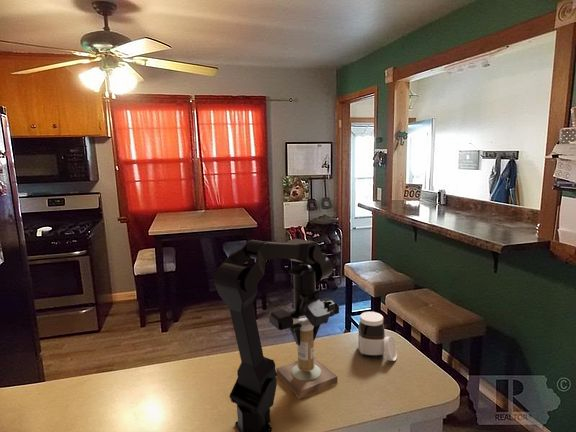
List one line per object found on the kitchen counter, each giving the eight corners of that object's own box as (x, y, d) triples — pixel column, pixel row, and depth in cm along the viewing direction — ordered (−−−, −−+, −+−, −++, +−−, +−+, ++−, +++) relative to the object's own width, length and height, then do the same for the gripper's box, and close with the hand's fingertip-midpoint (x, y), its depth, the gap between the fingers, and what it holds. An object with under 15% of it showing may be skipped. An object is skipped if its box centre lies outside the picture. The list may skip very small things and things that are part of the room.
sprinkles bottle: (317, 368, 101) (317, 321, 98) (304, 374, 98) (303, 326, 96) (307, 360, 104) (307, 315, 102) (294, 366, 102) (293, 319, 100)
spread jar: (356, 343, 120) (357, 309, 118) (392, 344, 119) (393, 309, 117) (360, 364, 108) (360, 327, 106) (400, 365, 107) (401, 328, 105)
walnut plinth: (299, 398, 94) (299, 390, 93) (276, 374, 104) (276, 367, 104) (337, 383, 100) (337, 375, 99) (312, 361, 110) (312, 354, 110)
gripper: (289, 305, 86) (290, 368, 88) (352, 289, 95) (352, 346, 98) (267, 290, 95) (269, 347, 98) (326, 277, 104) (327, 329, 107)
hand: (305, 342), depth 100 cm, fingers closed on sprinkles bottle, 4 cm apart
